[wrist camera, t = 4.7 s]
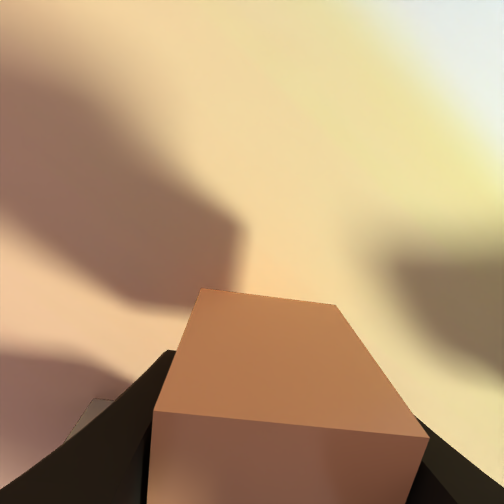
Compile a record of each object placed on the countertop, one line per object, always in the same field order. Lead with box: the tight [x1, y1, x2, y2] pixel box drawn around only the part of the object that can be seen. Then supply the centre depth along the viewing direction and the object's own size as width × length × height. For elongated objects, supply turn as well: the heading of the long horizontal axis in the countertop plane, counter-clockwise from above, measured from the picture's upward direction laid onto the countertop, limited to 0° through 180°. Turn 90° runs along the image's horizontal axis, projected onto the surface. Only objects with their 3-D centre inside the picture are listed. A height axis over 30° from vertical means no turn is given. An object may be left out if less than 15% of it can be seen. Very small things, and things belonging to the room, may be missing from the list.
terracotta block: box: [147, 288, 430, 504], centre depth 8 cm, size 4×4×5 cm
